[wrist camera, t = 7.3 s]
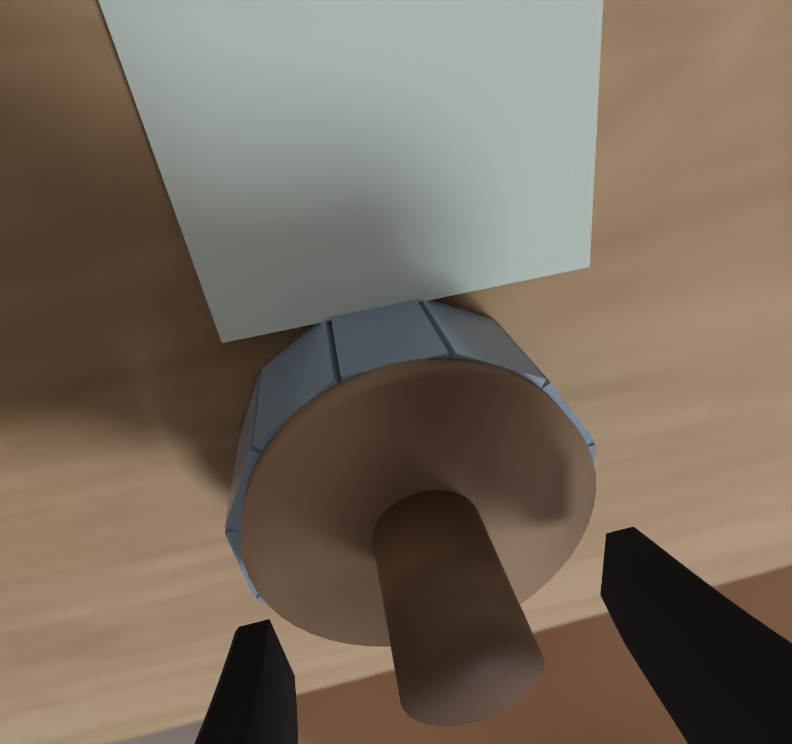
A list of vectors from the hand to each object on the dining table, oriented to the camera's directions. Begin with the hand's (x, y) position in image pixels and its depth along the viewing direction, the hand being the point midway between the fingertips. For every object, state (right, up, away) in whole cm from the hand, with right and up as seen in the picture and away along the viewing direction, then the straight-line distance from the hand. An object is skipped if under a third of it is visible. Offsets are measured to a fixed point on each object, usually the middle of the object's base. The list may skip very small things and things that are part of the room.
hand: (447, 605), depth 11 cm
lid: (-1, +2, +2) cm, 2 cm away
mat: (-1, +11, 0) cm, 11 cm away
